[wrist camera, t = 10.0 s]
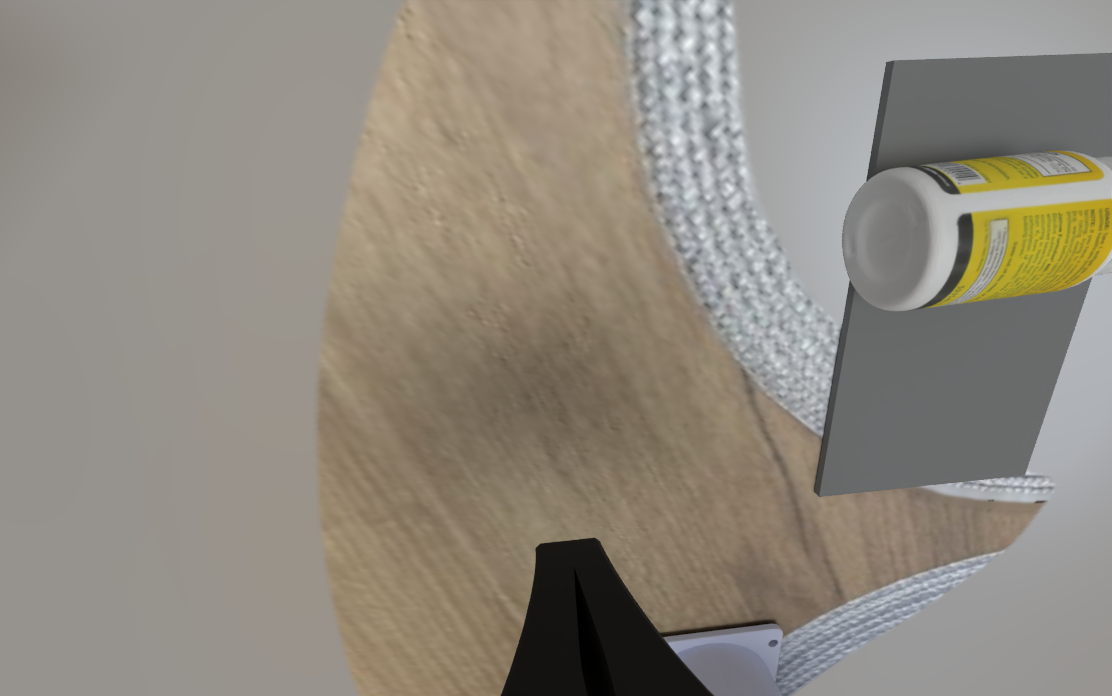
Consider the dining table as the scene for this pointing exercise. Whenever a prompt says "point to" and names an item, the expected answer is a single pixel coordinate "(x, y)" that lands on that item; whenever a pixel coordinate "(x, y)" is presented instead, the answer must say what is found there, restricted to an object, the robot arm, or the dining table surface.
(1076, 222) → the supplement bottle
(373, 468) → the dining table surface
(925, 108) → the mat
